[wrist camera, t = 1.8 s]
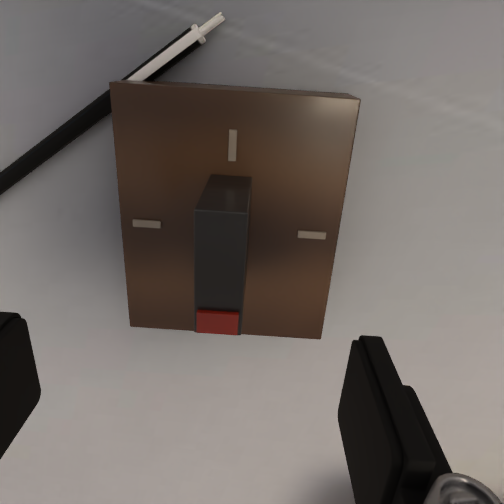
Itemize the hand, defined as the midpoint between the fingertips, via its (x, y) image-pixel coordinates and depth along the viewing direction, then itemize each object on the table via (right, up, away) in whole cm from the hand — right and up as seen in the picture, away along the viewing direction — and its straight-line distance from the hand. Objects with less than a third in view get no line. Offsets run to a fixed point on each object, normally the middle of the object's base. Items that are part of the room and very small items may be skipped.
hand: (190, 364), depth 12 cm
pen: (-8, +10, +10) cm, 16 cm away
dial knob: (+1, +4, +9) cm, 10 cm away
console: (+1, +6, +11) cm, 13 cm away
